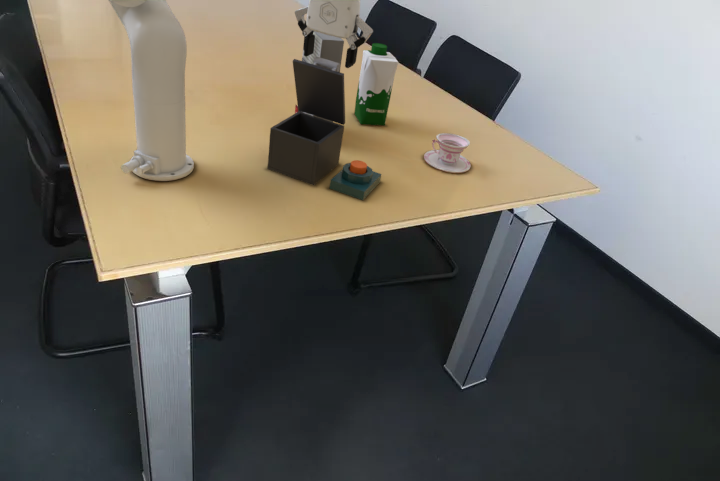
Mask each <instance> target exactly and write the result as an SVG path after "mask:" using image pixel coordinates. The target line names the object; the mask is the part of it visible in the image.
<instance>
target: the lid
mask: <svg viewBox="0 0 720 481" xmlns="http://www.w3.org/2000/svg"><path fill="white" fill-rule="evenodd" d="M292 69H293V76H294V85H295V96H296V103H297V104H296V105H297V106H298V110H299V111H302V112H305V113H308V114H311V115H314V116H318V117H321V118H324V119H327V120H330V121H333V123H337V124H340V125H343V126H345V124H346V98H345V96H346V94H345V93H346V92H345V73H343V72H341V67H340V63H337V62H334V61H330V60H327V59H323V58H320V57H315V59H314V63H313V64H310V63H307V62H303V61H302V60H299V59H297V58H294V59H292ZM339 70H340V72H338V71H339Z"/></svg>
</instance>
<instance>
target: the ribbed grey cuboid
mask: <svg viewBox="0 0 720 481" xmlns="http://www.w3.org/2000/svg"><path fill="white" fill-rule="evenodd" d="M313 35H315V42H314V52H313V54H311V55H309V56H304V50H303V49H302V56H301V57H302V58H301V61H303V62H307V63H310V64H313V63H314V59H315V57H320V58H323V59H327V60H330V61H334V62H337V63H340V68H341V66H342V61H343V60H342V59H343V52H344V45H345V40H344V38H338V37H335V36H331V35H327V34H324V33H320V32H316V31H314V32H313ZM302 46H304V44H303V45H302ZM338 72H340V73H341V69H340V70H339V71H338ZM298 111H299V110H298V104H295V107H294V114H295V113H297V112H298ZM299 112H302V111H299ZM302 113H305V112H302ZM306 114H308V113H306ZM309 115H311V114H309ZM312 116H314V115H312ZM315 117H318V116H315ZM318 118H321V117H318ZM321 119H324V118H321ZM324 120H327V119H324ZM327 121H330V120H327ZM330 122H333V121H330ZM333 123H334V122H333Z"/></svg>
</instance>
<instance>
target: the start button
mask: <svg viewBox="0 0 720 481" xmlns="http://www.w3.org/2000/svg"><path fill="white" fill-rule="evenodd" d="M350 163H351V164H350V171H351V172H352V173H355V174H365V173H366V169H367V166H368V164H367V162H365V161H363V160H357V159H354V160H351V162H350Z"/></svg>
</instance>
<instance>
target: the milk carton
mask: <svg viewBox="0 0 720 481" xmlns="http://www.w3.org/2000/svg"><path fill="white" fill-rule="evenodd" d="M398 65H399V61H398V60H397V57H396V56H394V55H393V54H392V53H391V52H389V51H388V46H387V45H386V44H384V43H381V42H380V43H379V42H373V43H372V44H371V48H370V49H364V50H362V59H361V67H360V72H359V78H358V83H357V84H358V85H357V90H356V96H355V105H354V116H355V117H356V119H357V121H358V122H359V124H360V125H364V126H386V121H387V116H388V111H389V106H390V102H391V96H392V91H393V86H394V81H395V75H396V73H397V69H398Z"/></svg>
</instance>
